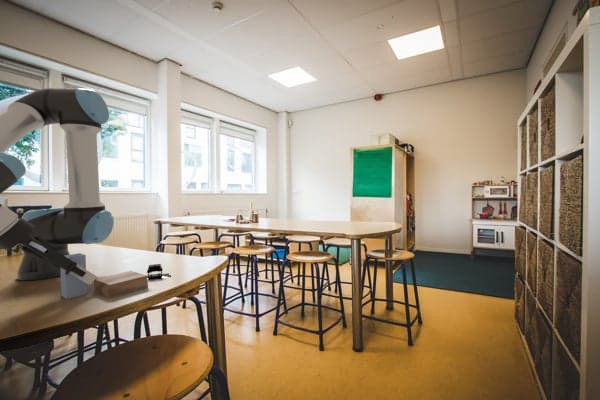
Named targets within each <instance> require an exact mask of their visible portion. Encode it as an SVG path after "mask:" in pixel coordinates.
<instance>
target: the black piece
mask: <svg viewBox="0 0 600 400" xmlns="http://www.w3.org/2000/svg"><path fill="white" fill-rule="evenodd" d="M152 272H153V273H154V272H155V273H156V272H158V273H156V274H155V273H154V274H152ZM146 273H147V275H148V281H153V280H160V279H168V278H172V275H169V273H170V272H169V273H167V272H166V273H163V266H162V264H161V263H154V264H149V265H148V267H147V270H146Z"/></svg>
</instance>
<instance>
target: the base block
mask: <svg viewBox="0 0 600 400" xmlns="http://www.w3.org/2000/svg"><path fill="white" fill-rule="evenodd" d="M93 286H94V287H93V290H94V293H97V294H98V295H101V296H104V297H106V298H107V299H113V298H118V297H120V296H121V297H122V296H125V295H128V294H131V293H135V292H138V291H141V290H146V289H148V288H149V280H148V274H147V275H146V274H143V273H140V272H137V271H133V270H129V271H124V272H120V273H116V274H111V275H108V276H107V275H105V276H101V277H97V278H96V279H95V280H94V281H93Z"/></svg>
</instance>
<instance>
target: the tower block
mask: <svg viewBox="0 0 600 400" xmlns="http://www.w3.org/2000/svg"><path fill="white" fill-rule="evenodd" d="M65 257H67V258H68V259H70V260H72V261H73V262H76V263H77V264H78V265H79V266H81V267H82V268H84V269H86V270H87V261H86V260H87V257H86V254H83V253H80V252H79V253H72V254H70V255H65ZM60 269H61V276H60V288H61V289H60V291H61V294H60V295H61V297H63V298H64V299H66V300H68V299H73V298H77V297H81V296H85V295H88V291H87V290H88V289H87V287H88V286H87V285H88V284H87V283H85V282H83V281H81V280H80V279H78V278H76V277H75V276H73V275H71V274H69V273H68V274H67V275H66V274H65V273H66V270H64V269H62V268H61V267H60Z"/></svg>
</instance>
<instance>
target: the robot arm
mask: <svg viewBox="0 0 600 400" xmlns="http://www.w3.org/2000/svg"><path fill="white" fill-rule="evenodd" d="M109 118H110V113H109V108H108V105H107V103H106V101H105V100H104V97H102V96H101V94H100V93H99V92H97V91H96V90H93V89H90V88H81V87H77V88H50V87H49V88H42V89H39V90H34V91H32V92H30V93H28V94H26V95H23V96H22V97H21V98H17V99H16V100H15V101H13V102H12V103H10V104H9V105H8V107H7V111H5V112H3V113H2V114H0V195H1V194H3V193H4V192H5V191H7V190H8V189H9V188H10V187H12V186H13V185H15V184H16V183H18V181H20V179H21V178H22V177H23V176H24V175H25V174H26V173H27V171H26V169H27V168H26V166H25V165H24V163H23V162H22V161H21V160H20V158H18V157H16V156H14V155H13V154H11V153H6V151H7V150H8V149H10V148H12V146H13V145H15V144H16V143H18V142H19V141H20V140H21V139H23V138H24V137H25V136H27V135H28V134H30V133H31V132H32V131H39V130H40V129H42V128H44V127H45V126H49V125H55V124H59V128H60V129H62V130H63V131H64V132H65V139H66V143H65V145H66V163H67V164H66V165H67V176H68V177H67V178H68V179H67V182H68V200H69V201H68V203H66V204H65V205H64V206H63V207H51V208H42V209H35V210H30V211H26V212H25V213H23V215H22V218H21V217H20V218H19V215H18V214H17V213H15V212H14V211H13V210H11V209H10V208H8V207H7V206H5V205H4V204H1V203H0V248H1V249H2V250H5V251H8V250H11V249H13V248H16V246H18V245H21V246H20V247H21V248H20V250H22V251H23V257H22V258H21V262H20V264H19V267H18V268H17V269H18V270H17V274H16V276H17V277H16V278H17V280H19V281H36V280H38V281H39V280H45V279H51V278H56V277H61V269H60V267H61V268H62V269H64V270H66V273H65V274H66V275H67V274H68V273H69V274H71V275H73V276H75V277H76V278H78V279H80V280H81V281H83V282H85V283H87V285H88V286H90V285H91V284H93V283H94V280H95V279H97V278H98V276H97V275H96V274H94V273H93V272H91V271H89V270H87V268H86V269H84V268H82V267H81V266H79V265H78V264H77V263H76V262H73V261H72V260H70V259H68V258H67V257H65V255H71V254H70V252H69V245H84V244H85V245H91V244H100V243H103V242H104V241H106V240H107V239H108V238H109V236H110V235H111V233H112V231H113V229H114V217H113V215H112V212H110V211H108V210H106V205H105V204H104V203H103V202H101V199H100V177H99V158H98V157H99V156H98V134H99V133H100V132H102V129H103V127H102V125H104V124H106V123H107V122H108V120H109Z"/></svg>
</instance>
